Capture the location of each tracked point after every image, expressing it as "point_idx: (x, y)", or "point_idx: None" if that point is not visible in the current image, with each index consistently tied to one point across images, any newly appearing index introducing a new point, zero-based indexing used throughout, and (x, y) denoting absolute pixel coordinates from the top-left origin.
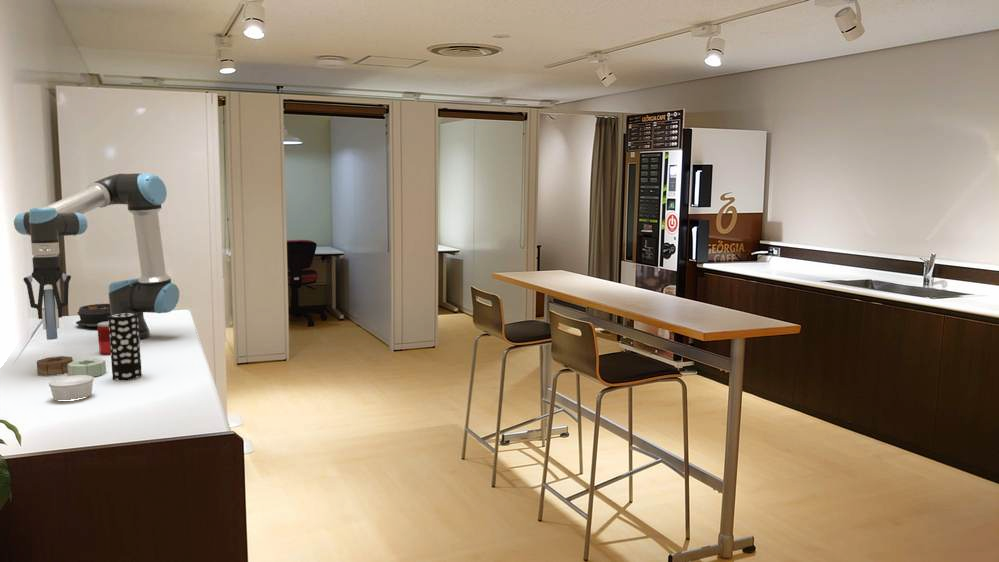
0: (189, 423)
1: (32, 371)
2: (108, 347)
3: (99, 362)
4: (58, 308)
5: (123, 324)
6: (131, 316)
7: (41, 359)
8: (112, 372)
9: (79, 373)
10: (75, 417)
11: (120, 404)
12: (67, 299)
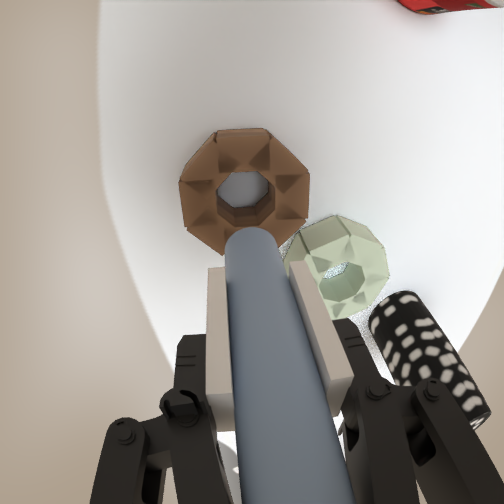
0: None
1: (162, 140)
2: (422, 5)
3: (370, 295)
4: (345, 404)
5: None
6: None
7: (192, 168)
8: (374, 334)
9: None
10: None
11: (335, 422)
12: (430, 450)
